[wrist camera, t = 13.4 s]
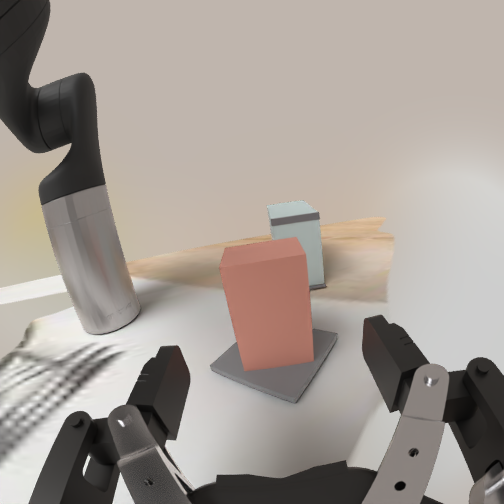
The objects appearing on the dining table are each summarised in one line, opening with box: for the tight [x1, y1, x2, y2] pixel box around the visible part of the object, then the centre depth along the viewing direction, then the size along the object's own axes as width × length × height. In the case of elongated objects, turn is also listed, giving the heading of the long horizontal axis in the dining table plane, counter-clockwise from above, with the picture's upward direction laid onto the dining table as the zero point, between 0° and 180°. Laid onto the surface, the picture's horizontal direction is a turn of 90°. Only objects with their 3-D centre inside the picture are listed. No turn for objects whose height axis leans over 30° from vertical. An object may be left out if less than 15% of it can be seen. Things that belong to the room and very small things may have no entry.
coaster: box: [210, 329, 337, 403], centre depth 22 cm, size 8×8×1 cm
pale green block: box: [267, 200, 326, 290], centre depth 36 cm, size 11×6×9 cm, turn 0°
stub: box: [219, 237, 314, 371], centre depth 20 cm, size 4×6×9 cm
